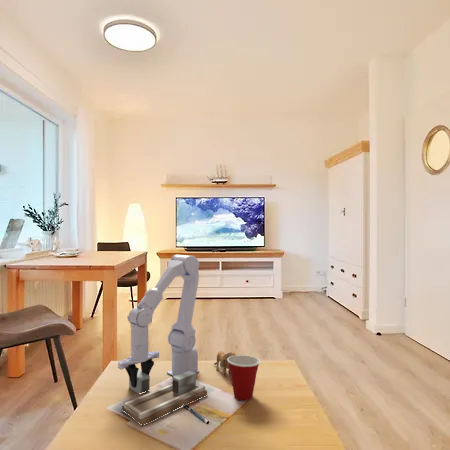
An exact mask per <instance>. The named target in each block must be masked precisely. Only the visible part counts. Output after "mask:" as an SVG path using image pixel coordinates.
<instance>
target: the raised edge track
mask: <svg viewBox="0 0 450 450" xmlns="http://www.w3.org/2000/svg"><path fill="white" fill-rule="evenodd" d="M196 375H197V373H194V372H192V371H187V372H185V373H182V374H180V375H177V376H172V383H171V384H169V385H166V386H164V387H161V388H159V389H156V390H154V391H151V392H147V394H146V393H145V394H142V395H141V396H138V397H136V398H134V399H131V400H128V401H126V402H124V403H123V405H122V406H121V411H122V410H123V411H125V412H126V413H127V414H129V415H130V416H131V417H133V418H134V419H135V420H136V421H137V422H139V423H140V424H142V425H144V424H146V423H149V422H151V421H153V420H155V419H157V418H159V417H161V416H163V415H165V414H167V413H169V412H172V411H173V410H175V409H177V408H179V407H181V406H182V405H183V404H188V403H190V402H192V401H195V400H197V399H199V398H201V397H204V396H206V395H207V396H208V390H206V386H205V385H201V386H198V385H196V384H197V383H196V382H197V381H196V379H197V376H196ZM207 396H206V397H207ZM204 398H205V397H204ZM197 401H198V400H197ZM195 402H196V401H195ZM172 413H173V412H172ZM159 419H160V418H159ZM157 420H158V419H157ZM136 421H135V422H136ZM155 421H156V420H155ZM137 422H136V423H137ZM153 422H154V421H153ZM139 423H138V424H139ZM151 423H152V422H151ZM140 424H139V425H140ZM149 424H150V423H149Z"/></svg>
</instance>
